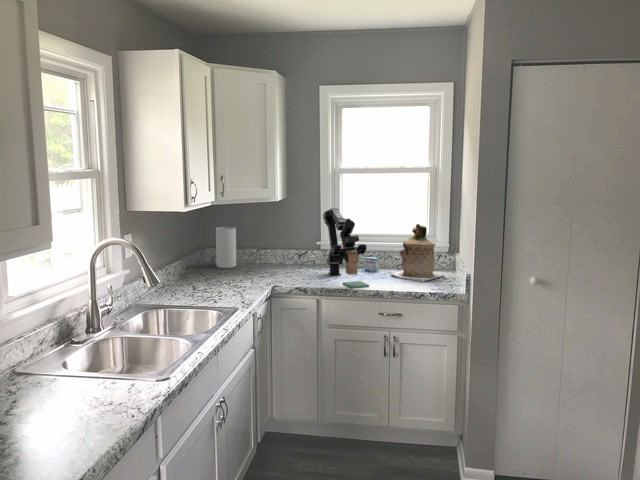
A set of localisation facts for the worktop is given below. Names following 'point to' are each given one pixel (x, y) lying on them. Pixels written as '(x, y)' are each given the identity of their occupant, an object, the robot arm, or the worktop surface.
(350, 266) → the walnut block
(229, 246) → the cylinder vase
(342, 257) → the robot arm
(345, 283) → the green mat
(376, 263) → the medicine box
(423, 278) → the cookie jar
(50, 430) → the worktop surface
